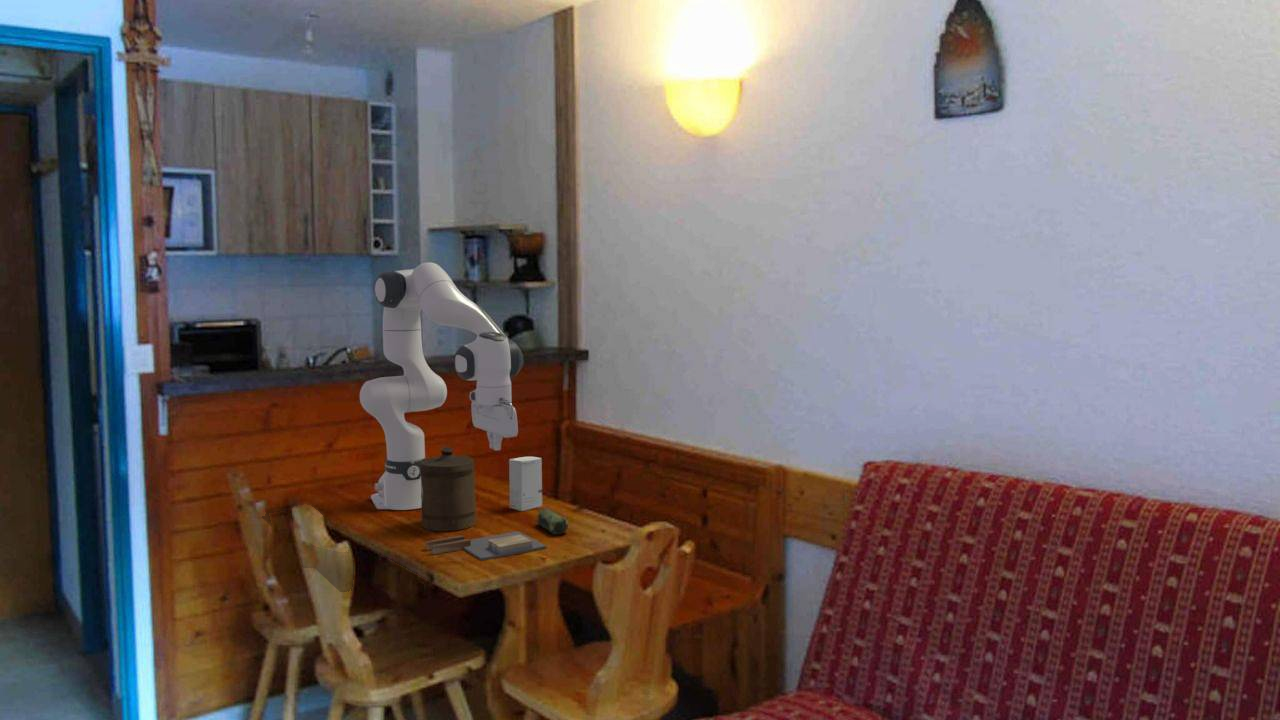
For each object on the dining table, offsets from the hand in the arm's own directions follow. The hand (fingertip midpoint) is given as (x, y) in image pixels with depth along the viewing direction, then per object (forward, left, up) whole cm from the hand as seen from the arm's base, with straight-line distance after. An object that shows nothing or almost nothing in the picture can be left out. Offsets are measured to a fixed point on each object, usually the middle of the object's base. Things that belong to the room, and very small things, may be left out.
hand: (495, 449), depth 257 cm
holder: (-4, -12, -25) cm, 28 cm away
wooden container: (-25, -3, -25) cm, 36 cm away
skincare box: (-29, +23, -25) cm, 45 cm away
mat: (+2, 0, -25) cm, 25 cm away
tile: (+3, +1, -24) cm, 24 cm away
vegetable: (-4, +18, -26) cm, 32 cm away
